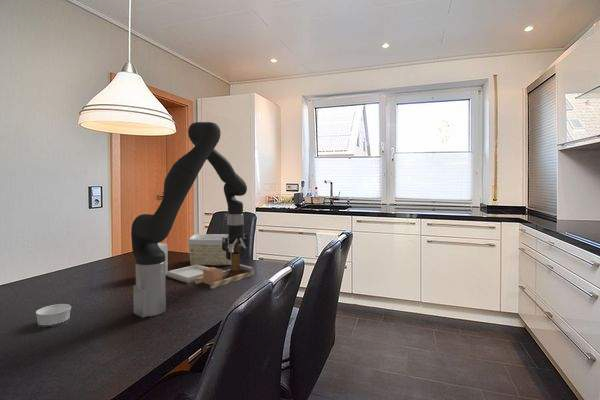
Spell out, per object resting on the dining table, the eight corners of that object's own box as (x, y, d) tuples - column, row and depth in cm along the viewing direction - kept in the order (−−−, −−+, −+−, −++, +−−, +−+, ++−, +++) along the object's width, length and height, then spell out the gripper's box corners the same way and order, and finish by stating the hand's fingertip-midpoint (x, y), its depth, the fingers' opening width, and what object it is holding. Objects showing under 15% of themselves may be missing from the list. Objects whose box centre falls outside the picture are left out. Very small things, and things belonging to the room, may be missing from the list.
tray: (188, 283, 142) (188, 277, 142) (167, 276, 152) (167, 271, 152) (217, 275, 155) (217, 269, 155) (197, 269, 165) (197, 264, 165)
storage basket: (236, 258, 188) (236, 233, 187) (234, 266, 172) (234, 238, 171) (193, 259, 186) (193, 233, 185) (187, 267, 169) (187, 238, 169)
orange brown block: (213, 286, 139) (213, 272, 139) (203, 282, 143) (203, 269, 143) (222, 283, 143) (222, 269, 143) (212, 280, 147) (212, 266, 147)
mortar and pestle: (239, 278, 150) (239, 239, 149) (226, 277, 151) (226, 239, 150) (244, 274, 156) (244, 237, 155) (231, 273, 158) (231, 236, 157)
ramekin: (66, 314, 109) (66, 301, 109) (75, 321, 103) (75, 308, 103) (32, 323, 102) (32, 309, 102) (40, 331, 96) (39, 317, 96)
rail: (212, 288, 136) (212, 279, 135) (194, 283, 143) (194, 274, 143) (253, 275, 155) (253, 267, 155) (236, 271, 162) (236, 263, 162)
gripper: (229, 225, 144) (229, 262, 145) (252, 222, 156) (252, 256, 157) (218, 224, 149) (218, 259, 150) (241, 221, 160) (241, 253, 161)
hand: (235, 257), depth 153 cm, fingers open, 8 cm apart
